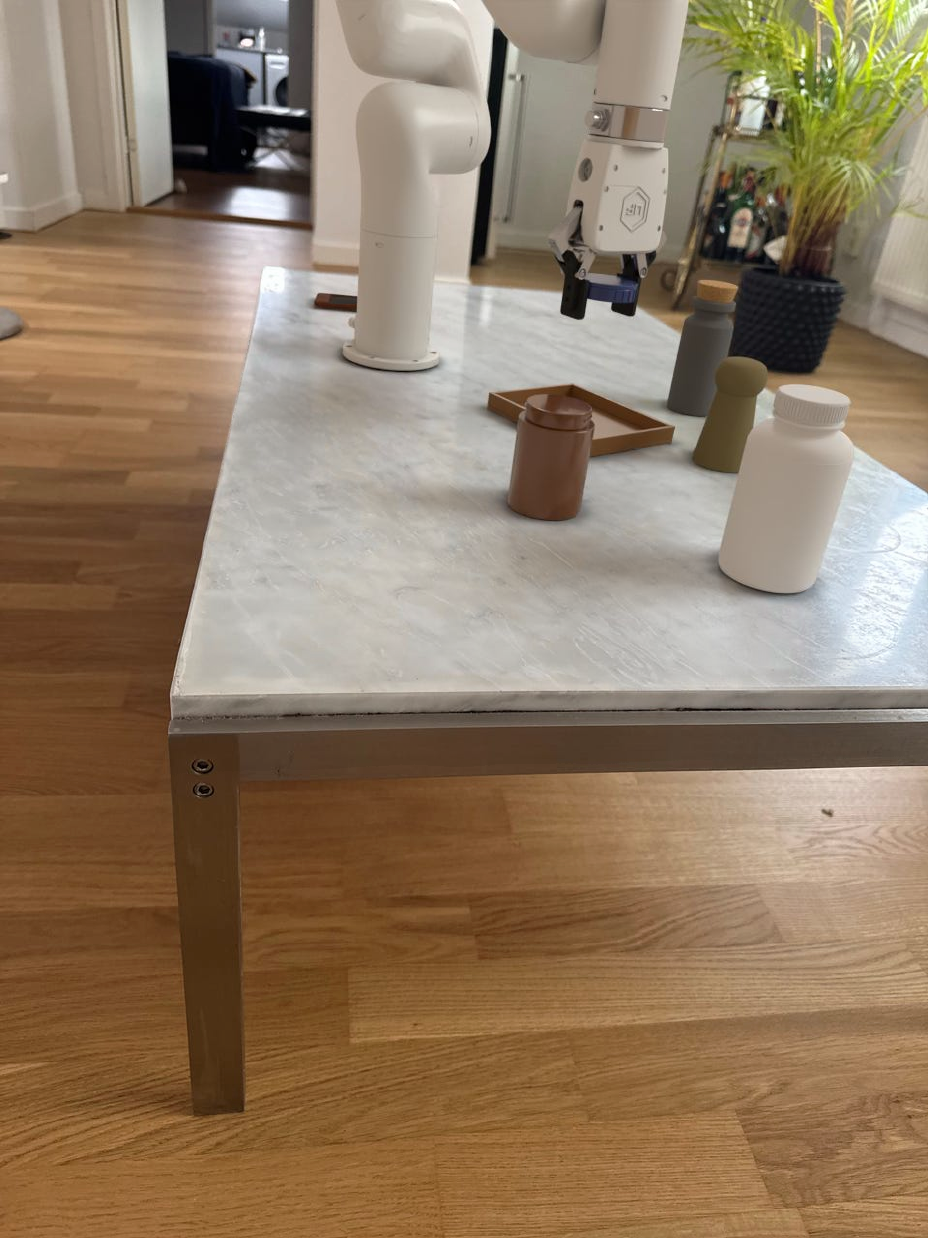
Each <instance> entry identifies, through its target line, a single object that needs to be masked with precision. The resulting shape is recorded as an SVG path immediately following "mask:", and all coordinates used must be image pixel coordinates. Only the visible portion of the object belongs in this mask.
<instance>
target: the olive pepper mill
mask: <svg viewBox="0 0 928 1238" xmlns="http://www.w3.org/2000/svg"><path fill="white" fill-rule="evenodd" d="M768 372H769V371H768V369H767V366H766V365H765V364H764V363H762V362H761V361H759V360H756V359H754V358H750V357H747V356H746V357H745V356H727V358H725V359H723V360H722V361H721V362H720V363H719V365H718V367H717V369H716V373H715V383H716V386H717V388H718V389H717V391H716V394H715V396H714V399H713V402H712V404H711V407H710V410H709V412H708V415H707V416H706V418H705V420H704V423H703V426H702V429H701V431H700V434H699V437H698V439H697V441H696V444H695V447H694V449H693V452H692V455H691V460H692V461H693V462H694V463H695V464H697V465H698V466H701V467H703V468H705V469H708V470H712V471H716V472H721V473H731V474H737V473H738V474H739V470H740V466H741V461H742V457H743V453H744V449H745V445H746V441H747V438H748V435H749V434H750V432H751V430H752V429H753V428H754V424H755V416H756V407H757V402H758V396H759V395H760V394H761V393H762V392H763V391H764V389H765V388H766V385H767V382H768V377H769V375H768V374H769V373H768Z"/></svg>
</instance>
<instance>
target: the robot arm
mask: <svg viewBox="0 0 928 1238" xmlns="http://www.w3.org/2000/svg"><path fill="white" fill-rule="evenodd" d="M480 1H481V2H482V5H484V7H485V9H486V10H487V12H488V13H489V15H490V16H491V18H492V20H493V21H494V22H495V24H496V26H497V27H498V28H499V30H500V31H501V32H502V34H503V35H504V36H505V38H506V39H507V40H508V41H509V42H510V43H511V44H512V45H513V46H514V47H515V48H517V49H518V50H519V51H520V52H522V53H523V54H525V55H527V56H530V57H535V58H540V59H547V60H553V61H562V62H565V63H567V64H574V65H581V66H587V67H588V66H589V67H590V66H591V67H593V66H594V67H595V66H597V67H596V74H595V81H594V89H593V95H592V96H593V97H592V103H591V110H589V111H587V112H586V114H585V116H584V124H585V125H586V127H588V129H587V137H586V139H583V141H582V144H581V148H580V150H579V153H578V157H577V160H576V164H575V167H574V172H573V176H572V181H571V185H570V188H569V189H570V190H569V195H568V199H567V205H566V211H565V216H564V218H563V219H562V220H561V221H560V222H559V223H558V224H557V225H556V226H555V227H554V228H553V230H552V231H551V232H550V233H549V234H548V236H547V241H548V244H549V246H550V248H551V250H552V252H553V253H554V258H555V260H556V262H557V264H558V266H559V267H560V269H559V270H560V274H561V275H563V276H564V279H563V288H562V294H561V300H560V307H559V310H560V311H559V313H560V314H561V315H562V316H565V317H568V318H571V319H573V320H576V321H582V320H584V319H585V318H586V317H585V316H586V311H587V305H588V299H587V298H588V292H589V285H590V282H589V281H590V280H587V279H584V278H585V277H586V275H587V273H589V271H590V269H591V267H592V265H593V263H594V261H595V259H596V257H597V255H598V254H600V255H618V257H619V262H620V268H621V272H616V276H617V277H622V278H626V279H629V280H632V281H635V282H636V283H637V284H638V285H637V294H636V300H634V301H633V302H630V303H610V304H611V305H610V310H611V311H612V312H614V313H617V314H619V315H623V316H626V317H630V318H631V317H635V315H636V312H637V307H638V301H639V295H640V289H641V284H642V279H644V278H645V277H646V276H647V275H648V269H649V267H651V265H652V264H653V262H655V260H656V258H657V255H658V254H659V252H660V251H661V250H662V249H663V247H664V246H665V245H666V243H667V241H668V237H667V235H666V232H665V230H664V229H663V227H664V219H665V211H666V206H667V205H666V204H667V195H668V186H669V185H668V183H669V148H668V147H665V146H664V145H665V140H666V134H667V128H668V123H669V118H670V110H671V105H672V100H673V94H674V89H675V84H676V83H675V82H676V79H677V78H676V77H677V72H678V68H679V67H678V66H679V60H680V57H681V56H680V54H681V49H682V43H683V39H684V33H685V28H686V22H687V16H688V10H689V2H690V0H480ZM335 5H336V8H337V13H338V16H339V21H340V24H341V28H342V32H343V36H344V41H345V43H346V46H347V50H348V52H349V55H350V58H351V60H352V61H353V64H354V65H355V66H356V67H357V68H358V69H359V70H360V71H361V72H363V73H365V74H367V75H370V76H373V77H374V76H375V77H378V78H385V79H392V80H393V79H394V80H400V81H390V82H384V83H381V84H378V85H377V86H375V87H373V88H372V89H371V90H369V91H368V92H367V93H366V94H365V96H363V98H362V100H361V102H360V104H359V106H358V108H357V112H356V118H355V137H356V138H355V140H356V147H357V155H358V163H359V173H360V219H359V220H360V221H359V228H360V231H359V233H360V234H359V249H358V250H359V251H358V252H359V255H358V273H357V275H358V277H357V295H356V296H357V311H356V314H355V315H354V316H351V317H350V318H349V319H348V321H347V322H348V326H349V327H350V328H352V329H354V333H353V335H354V337H353V339H351V340H348V341H346V342H345V343H344V344H343V345H342V354H343V357H344V358H346V359H347V360H349V361H351V362H352V363H355V364H358V365H361V366H364V367H367V368H373V369H380V370H385V371H386V370H387V371H401V372H402V371H404V372H405V371H411V372H412V371H421V370H422V371H423V370H428V369H432V368H433V367H435V366H437V365H438V364H439V363H440V357H441V355H440V352H439V351H438V350H437V349H436V348H435V347H432V346H431V345H429V344H430V331H431V321H432V308H433V307H432V306H433V296H434V283H435V272H436V260H437V247H438V232H439V207H438V202H437V198H436V194H435V191H434V188H433V184H432V182H431V178H430V175H444V176H445V175H447V176H448V175H463V174H467V173H470V172H472V171H474V170H475V169H477V168H478V167H479V166H480V165H481V164H482V163H483V162H484V160H485V158H486V156H487V154H488V152H489V148H490V144H491V137H492V126H491V124H492V123H491V116H490V110H489V104H488V102H487V101H488V100H487V96H486V95H487V94H486V91H485V87H484V82H483V77H482V73H481V69H480V65H479V61H478V56H477V52H476V47H475V43H474V38H473V35H472V31H471V28H470V25H469V23H468V21H467V18H466V16H465V15H464V13H463V11H462V9H461V8H460V6H459V5H458V4H457V3H456V2H455V1H454V0H335ZM401 80H402V81H401ZM580 255H582V256H581V258H580V260H579V257H580Z"/></svg>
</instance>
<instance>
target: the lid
mask: <svg viewBox="0 0 928 1238" xmlns="http://www.w3.org/2000/svg"><path fill="white" fill-rule="evenodd" d="M584 279H587V280H590V281H589V282H590V285H589V292H588V298H587V300H590V301H596V302H602V303H603V302H604V303H610V304H612V303H630V302H633V301H634V300H636V294H637V285H638V284H637V283H636V282H635V281H632V280H629V279H626V278H622V277H617V275H611V274H604V273H593V272H588V273H587V275H586V277H585V278H584Z"/></svg>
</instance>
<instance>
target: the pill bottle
mask: <svg viewBox="0 0 928 1238" xmlns="http://www.w3.org/2000/svg"><path fill="white" fill-rule="evenodd" d="M772 407H773V408H772V410H771V415H772V417H770V418H767V419H764V420H762V421H760V422H758V423H757V424H755V426H754V425H753V429H752V430H751V432H750V434H749V435H748V438H747V441H746V445H745V449H744V453H743V457H742V461H741V466H740V470H739V473H738V474H737V478H736V482H735V486H734V490H733V493H732V494H733V495H732V498H731V503H730V507H729V510H728V514H727V518H726V521H725V525H724V526H725V527H724V531H723V534H722V537H721V538H722V539H721V542H720V547H719V550H718V559H717V560H718V561H717V562H718V566H719V568H720V570H721V571H722V572H723V573H724V574H725V575H726V576H727V577H729V578H730V579H732V580H734V581H735V582H738V583H740V584H742V585H744V586H747V587H750V588H753V589H755V590H759V591H762V592H763V591H764V592H769V593H776V594H795V593H801V592H804V591H806V590H809V589H810V588H811V587H812V586H813V585H814V584H815V582H816V580H817V578H818V575H819V573H820V570H821V566H822V564H823V560H824V557H825V553H826V551H827V547H828V544H829V540H830V537H831V534H832V531H833V527H834V524H835V521H836V517H837V514H838V511H839V508H840V505H841V501H842V498H843V495H844V492H845V489H846V486H847V483H848V479H849V475H850V472H851V469H852V466H853V463H854V459H855V448H854V444H853V442H852V440H851V439H850V438H849V436H848V435H846V434H845V432H843V431H842V429H844V428H845V425H846V420H847V418H848V417H847V416H848V413H849V410H850V407H851V400H850V397H848V396H847V395H845V394H844V393H841V392H839V391H836V390H834V389H830V388H826V387H822V386H817V385H812V384H811V385H810V384H800V383H793V384H792V383H790V384H783V385H781V386H779V387H778V388H777V390H776V392H775V396H774V400H773V404H772Z"/></svg>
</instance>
